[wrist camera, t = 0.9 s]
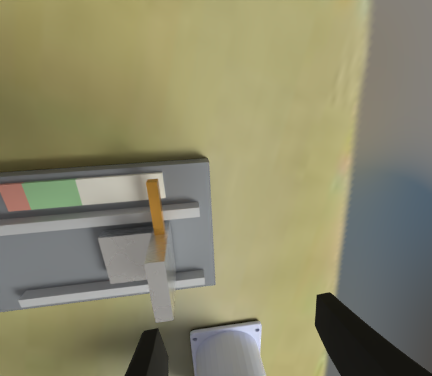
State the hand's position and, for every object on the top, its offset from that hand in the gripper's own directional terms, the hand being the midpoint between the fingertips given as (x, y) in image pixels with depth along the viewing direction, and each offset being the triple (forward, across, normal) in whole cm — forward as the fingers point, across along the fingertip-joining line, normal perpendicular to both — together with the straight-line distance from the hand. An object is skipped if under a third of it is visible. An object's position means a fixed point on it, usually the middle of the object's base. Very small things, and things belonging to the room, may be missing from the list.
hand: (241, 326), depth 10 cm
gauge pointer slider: (+9, +6, -1) cm, 11 cm away
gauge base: (+11, +11, 0) cm, 15 cm away
